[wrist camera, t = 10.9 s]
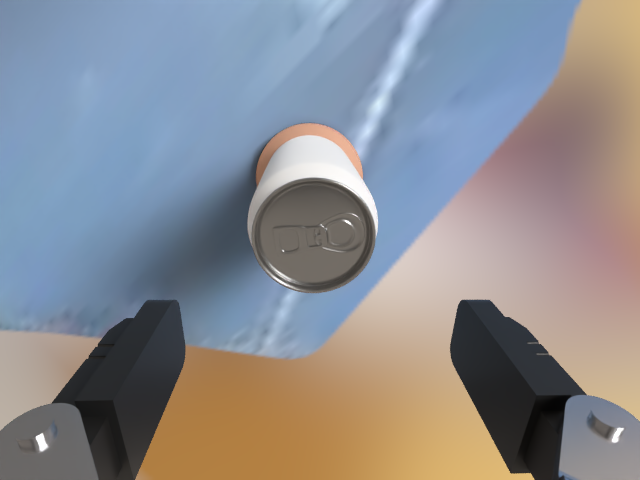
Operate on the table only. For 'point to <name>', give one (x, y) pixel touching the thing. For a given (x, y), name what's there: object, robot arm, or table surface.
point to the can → (312, 217)
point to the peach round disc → (302, 131)
